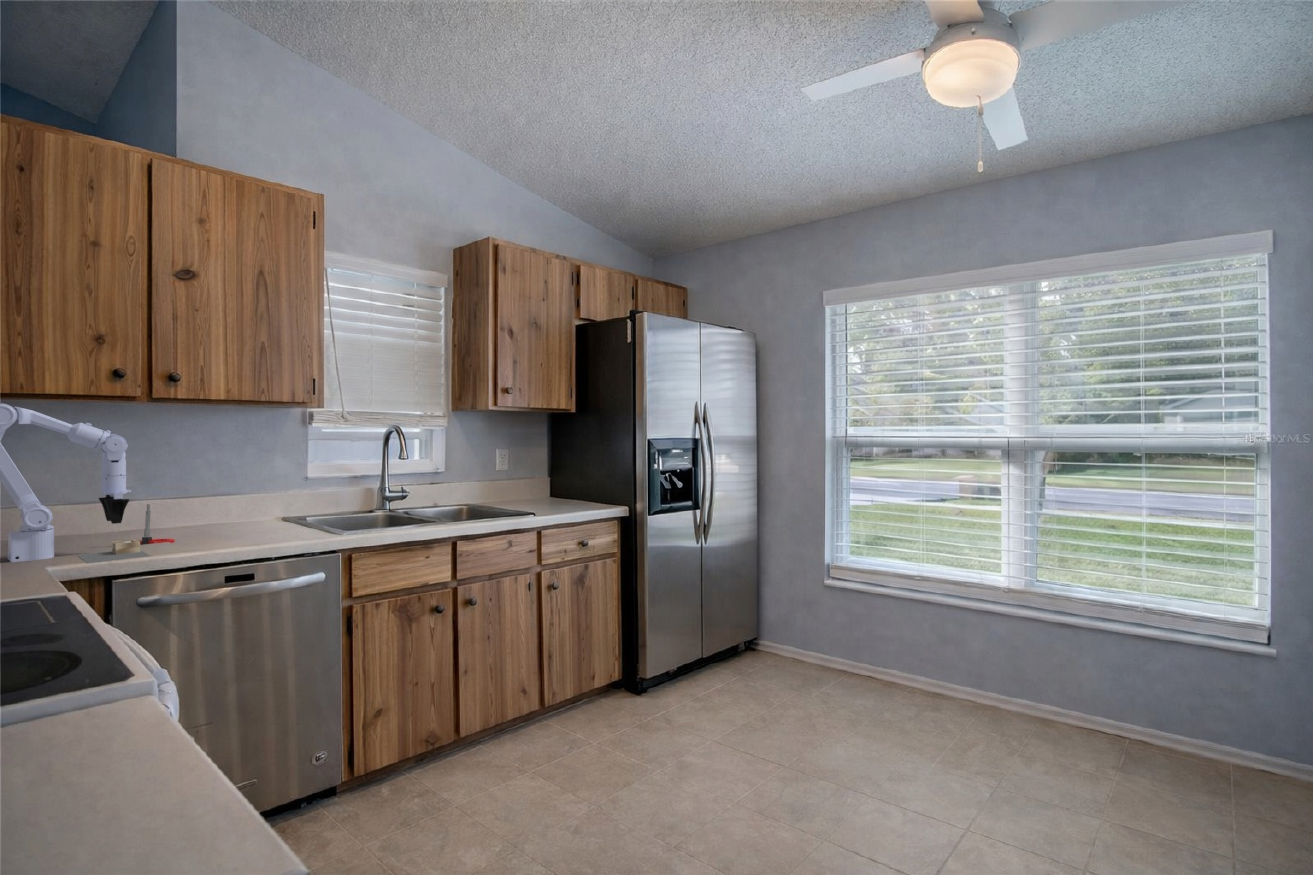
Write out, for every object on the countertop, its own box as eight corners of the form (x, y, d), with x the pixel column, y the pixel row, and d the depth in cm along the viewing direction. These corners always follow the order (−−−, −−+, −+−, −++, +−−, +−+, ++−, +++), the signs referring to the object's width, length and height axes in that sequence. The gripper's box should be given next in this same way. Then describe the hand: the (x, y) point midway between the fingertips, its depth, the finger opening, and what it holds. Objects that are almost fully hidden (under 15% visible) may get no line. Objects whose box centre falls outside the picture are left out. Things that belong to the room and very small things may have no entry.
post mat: (87, 566, 182) (87, 551, 182) (76, 558, 193) (76, 544, 193) (151, 559, 193) (151, 545, 193) (137, 552, 204) (137, 538, 204)
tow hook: (158, 541, 225) (132, 545, 216) (159, 502, 225) (134, 504, 216) (181, 542, 224) (156, 546, 214) (182, 503, 224) (157, 504, 215)
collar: (116, 554, 194) (115, 544, 194) (112, 552, 198) (112, 541, 198) (140, 552, 198) (140, 541, 198) (136, 549, 202) (136, 539, 202)
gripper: (136, 476, 199) (136, 523, 199) (125, 473, 208) (125, 518, 209) (105, 477, 193) (105, 525, 194) (96, 474, 203) (96, 520, 203)
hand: (113, 522), depth 201 cm, fingers open, 7 cm apart
